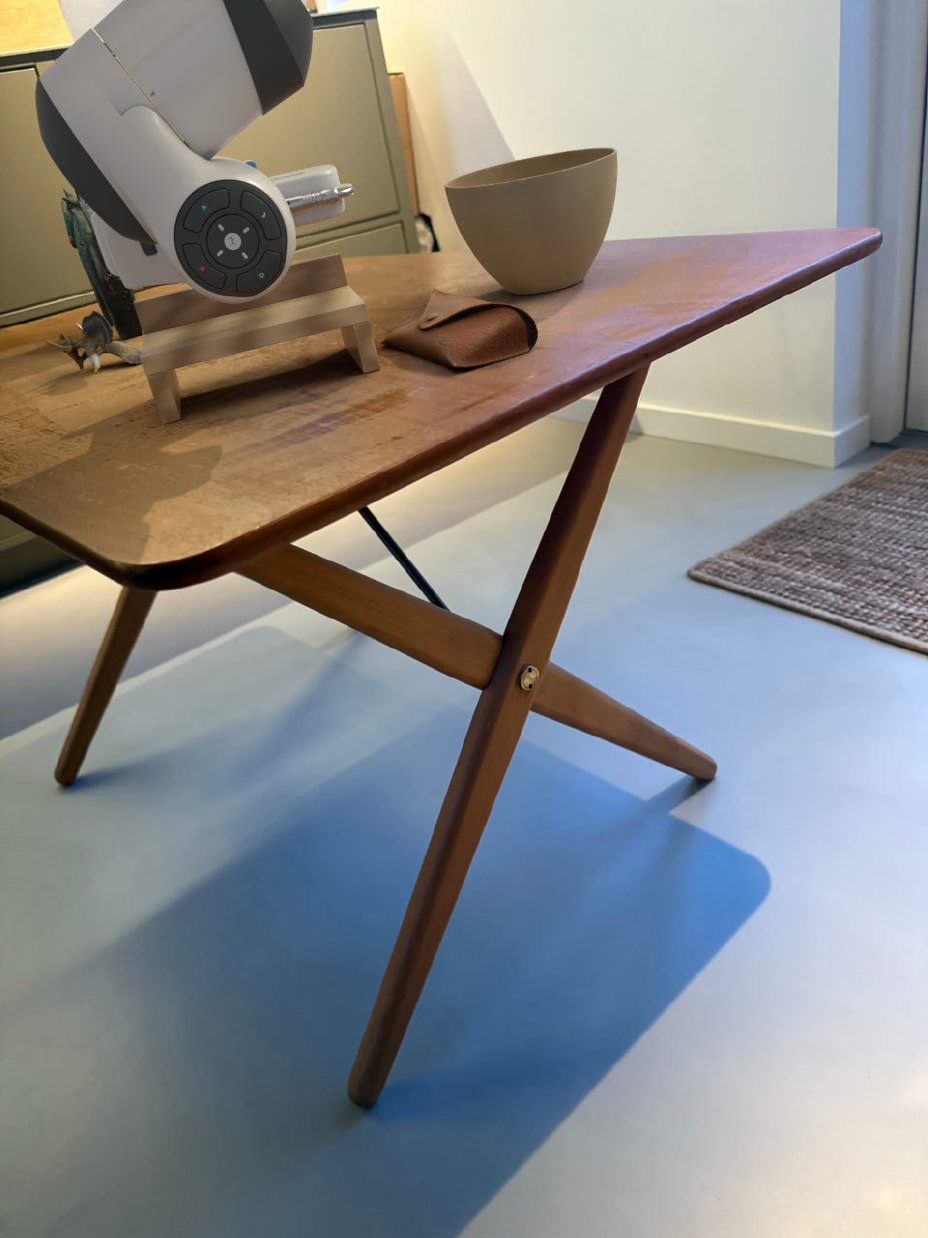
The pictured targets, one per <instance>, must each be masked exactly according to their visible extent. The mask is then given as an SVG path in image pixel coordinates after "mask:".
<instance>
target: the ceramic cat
mask: <svg viewBox="0 0 928 1238" xmlns="http://www.w3.org/2000/svg"><path fill="white" fill-rule="evenodd" d="M73 190H74V192H75V194H72V193H70V192H69V191H68V190H66V189H64V188H62V191H63V192H64V195H65V196H63V197H61V201H60V206H61V211H62V214H63V219H64V225H65V230H66V233H67V237H68V241H69V243H70V245H71V247H72V248H73V249H77V253H78V256H79V259H80V261H81V264H82V267H83V269H84V271H85V273H86V276H87V279H88V281H89V283H90V286H91V288H92V289H91V290H92V291H93V294H94V296H95V299H96V302H97V304H98V306H99V308H100V311H101V314H102V316H104V317H105V319H106V320H107V321H108V323H109V324H110V325H111V326H113V327H114V330H115V331H116V333H117V335H118V337H119V339H121V340H128V339H131V338H134V337H138V336H142V335H144V332H143V329H142V327H141V324H140V321H139V318H138V315H137V312H136V309H135V306H134V301H136V300H137V299H136V296H135V291H134V289H128V288H126V287H125V286H124V284H123V282H122V280H121V278H120V277H119V276H115V275H113V274H112V273H111V272H110V271H109V270H108V268H107V266H106V264H105V261H104V258H103V255H102V253H101V250H100V247H99V245H98V242H97V239H96V235H95V232H94V229H93V226H92V223H91V220H90V218H91V215H92V214H93V213H94V211H93V210H92V209H91V208H90V207H89V205H88V204H87V203H86V202H85V201H84V200H83V199H82V198H81V197H80V195H79V194H78V193H77V192H76V191H75V189H74V188H73Z"/></svg>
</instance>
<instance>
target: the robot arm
mask: <svg viewBox="0 0 928 1238" xmlns="http://www.w3.org/2000/svg"><path fill="white" fill-rule="evenodd" d="M311 15H312V14H311V13H310V11H309V9H308V8H307V5H306V2H305V1H304V0H122V1H121V2H120V3H119V4H117V5H116V6H115V7H114V8H113V9H112V10H111V11H110V12H109V13H107V15H106V16H105V17H104V18H102V19H101V20H100V21H99V22H98V23H97V24H96V25H95V26H94V27H92V28H93V29H92V28H91V27H90V28H89V29H88V30H86V32H84V33H83V34H82V36H80V37H78V39H76V41H75V42H74V43H72V44H71V45H70V46H69V47H68V48H67V49H66V50H65V51H64V52H63V53H62V54H61V55H60V56H59V57H58V58H57V59H55V61H54V62H53V63H51V64H50V66H48V67H47V68H46V70H44V71H43V72H42V74H41V75H39V76H37V78H36V83H35V90H34V91H35V92H34V93H35V95H34V98H35V99H34V100H35V109H36V116H37V123H38V128H39V134H40V138H41V140H42V143H43V144H44V147H45V149H46V151H47V152H48V154H49V156H50V158H51V160H52V161H53V163H54V164H55V166H56V168H57V169H58V170H59V171H60V173H61V175H62V176H63V177H64V178H65V180H66V181H67V182H68V183H69V185H70V186H71V187H72V189H73V190H74V189H75V190H74V192H75V191H76V192H77V193H78V194H79V195H80V197H81V198H82V199H83V200H84V201H85V202H86V203H87V204H88V205H89V207H90V208H91V209H92V210H93V211H94V213H93V214H92V215H91V218H90V220H91V223H92V226H93V229H94V232H95V235H96V239H97V242H98V245H99V247H100V250H101V253H102V255H103V258H104V261H105V264H106V266H107V268H108V270H109V271H110V272H111V273H112V274H113V275H115V276H119V277H120V278H121V280H122V282H123V284H124V286H125V287H126V288H128V289H133V290H135V289H141V288H142V289H147V288H153V287H161V286H169V285H170V286H171V285H178V284H187V285H188V286H189V288H191V287H192V288H193V289H194V290H196V291H197V292H199V293H201V294H202V295H204V296H206V297H208V298H211V299H213V300H216V301H219V302H223V303H230V304H237V303H244V302H248V301H252V300H255V299H257V298H260V297H262V296H264V295H266V294H268V293H269V292H271V291H272V290H273V289H274V288H275V287H276V286H277V285H278V284H279V283H280V282H281V281H282V279H283V278H284V276H285V275H286V273H287V271H288V269H289V267H290V265H291V264H292V262H293V260H294V257H295V254H296V251H297V250H296V248H297V231H296V228H300V227H304V226H308V225H312V224H317V223H321V222H325V221H329V220H331V219H333V218H336V217H339V216H341V215H343V214H344V213H345V211H346V203H345V199H346V198H350V197H353V196H354V195H355V193H354V192H355V187H353V185H352V183H341V182H340V177H339V173H338V170H337V167H336V166H335V165H333V164H321V165H316V166H312V167H308V168H303V169H299V170H295V171H290V172H286V173H285V172H284V173H280V174H275V175H272V176H267V175H266V174H264V173H263V172H261V170H259V169H258V168H257V169H258V170H257V169H255V168H254V167H252V166H250V165H248V164H246V163H244V162H243V160H241V159H237V158H234V157H229V156H223V155H218V154H219V152H221V151H222V150H223V149H224V148H225V147H226V146H227V145H229V144H230V143H231V142H232V141H233V140H234V139H235V138H237V136H239V135H240V134H241V133H242V132H243V131H245V130H246V129H247V128H248V127H249V126H250V125H251V124H252V123H253V122H254V121H255V120H256V119H258V118H259V117H260V116H265V115H267V114H268V113H270V112H271V111H272V110H274V109H275V108H276V107H278V106H279V105H281V104H282V103H284V102H285V101H286V100H287V99H288V98H290V97H292V96H293V95H294V94H296V93H297V92H298V91H300V90H302V88H304V87H305V84H306V81H307V78H308V74H309V70H310V65H311V59H312V53H313V44H314V20H313V17H312V16H311Z"/></svg>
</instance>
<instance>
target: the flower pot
mask: <svg viewBox="0 0 928 1238" xmlns="http://www.w3.org/2000/svg"><path fill="white" fill-rule="evenodd" d="M617 182H618V150H617V149H616V148H615V147H614V148H613V147H590V148H579V149H571V150H566V151H559V152H553V153H548V154H541V155H535V156H531V157H525V158H520V159H516V160H512V161H507V162H504V163H503V162H502V163H499V164H495V165H490V166H487V167H483V168H480V169H477V170H473V171H471V172H467V173H464V174H461V175H459V176H456V177H453V178H451V179H449V180H447V181H446V182H445V183H444V185H443V187H444V190H445V195H446V199H447V202H448V205H449V208H450V211H451V214H452V216H453V219H454V222H455V225H456V226H457V228H458V231H459V232H460V235H461V237H462V238H463V240H464V242H465V243H466V246H467V247H468V249H469V250H470V252H471V253H472V255H473V256H474V257H475V259H476V260H477V262H479V264H480V265H481V267H482V268H483V269H484V270H485V271H486V272H487V273H488V275H490V276H491V277H492V278H493V280H495V281H496V282H497V284H499V285H500V286H501V287H502V288H503V289H505V290H506V291H507V292H509V293H511V294H514V295H520V296H521V295H522V296H523V295H524V296H525V295H528V296H529V295H538V294H546V293H550V292H554V291H558V290H559V291H560V290H563V289H567V288H569V287H571V286H574V285H577V284H578V283H580V282H581V281H582V280H583V279H585V277H586V275H587V274H588V272H589V270H590V269H591V267H592V265H593V263H594V262H595V260H596V258H597V255H598V253H599V252H600V250H601V247H602V246H603V243H604V240H605V238H606V235H607V233H608V230H609V227H610V223H611V219H612V215H613V210H614V206H615V200H616V193H617V184H618V183H617Z"/></svg>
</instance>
